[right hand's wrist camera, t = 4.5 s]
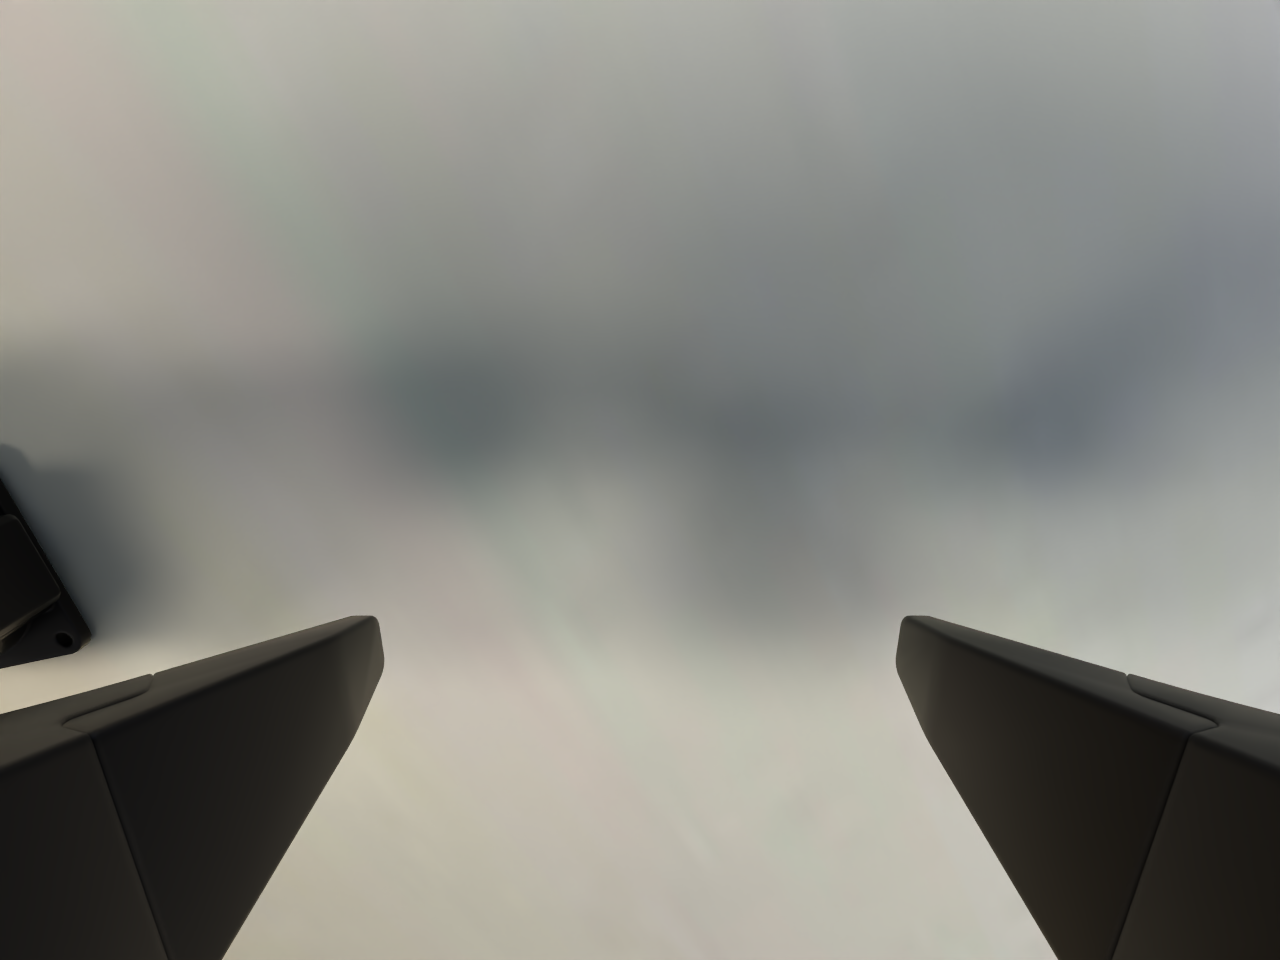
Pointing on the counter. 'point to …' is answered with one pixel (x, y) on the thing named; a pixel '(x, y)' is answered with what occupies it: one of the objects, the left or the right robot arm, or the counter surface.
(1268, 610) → the counter surface
